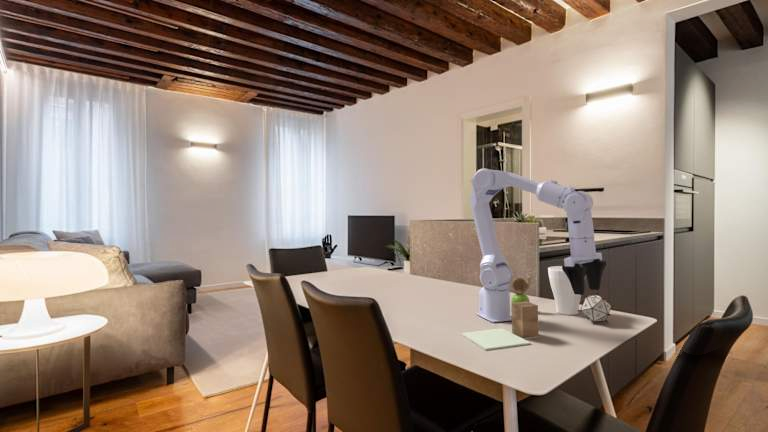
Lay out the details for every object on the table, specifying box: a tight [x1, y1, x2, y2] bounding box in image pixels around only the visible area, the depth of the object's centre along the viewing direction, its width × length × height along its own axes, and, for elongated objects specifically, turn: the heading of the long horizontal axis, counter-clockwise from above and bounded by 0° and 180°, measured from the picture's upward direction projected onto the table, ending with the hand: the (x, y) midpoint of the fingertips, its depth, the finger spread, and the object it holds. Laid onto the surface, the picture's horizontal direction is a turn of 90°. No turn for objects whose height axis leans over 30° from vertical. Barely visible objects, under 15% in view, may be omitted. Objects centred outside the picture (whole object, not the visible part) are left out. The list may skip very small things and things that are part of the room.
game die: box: [578, 292, 615, 325], centre depth 107 cm, size 9×8×10 cm
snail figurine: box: [511, 272, 533, 303], centre depth 122 cm, size 5×6×12 cm
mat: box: [460, 327, 532, 351], centre depth 95 cm, size 12×12×1 cm
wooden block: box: [510, 301, 539, 340], centre depth 98 cm, size 4×4×8 cm
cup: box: [547, 265, 582, 316], centre depth 118 cm, size 10×10×14 cm
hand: (587, 291), depth 97 cm, fingers open, 7 cm apart
